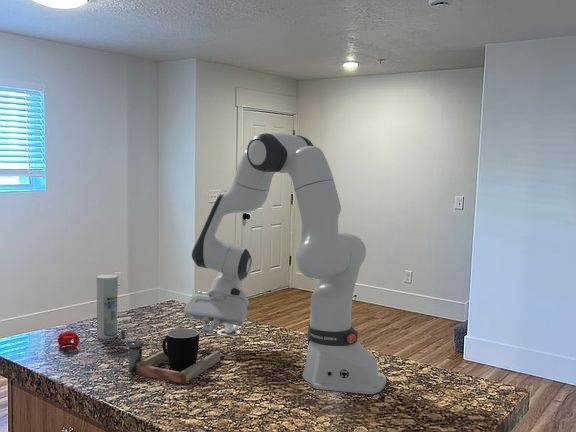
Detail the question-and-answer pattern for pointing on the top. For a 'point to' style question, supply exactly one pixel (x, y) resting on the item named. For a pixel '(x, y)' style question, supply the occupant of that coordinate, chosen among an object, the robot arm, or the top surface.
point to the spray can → (107, 306)
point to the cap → (68, 339)
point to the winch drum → (133, 351)
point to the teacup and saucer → (229, 329)
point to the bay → (149, 369)
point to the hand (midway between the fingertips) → (206, 332)
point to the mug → (181, 348)
